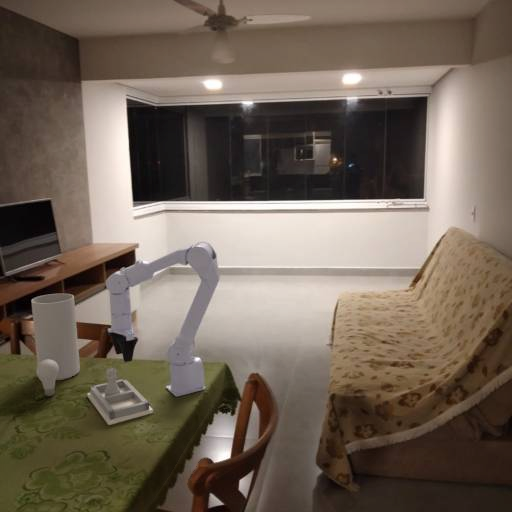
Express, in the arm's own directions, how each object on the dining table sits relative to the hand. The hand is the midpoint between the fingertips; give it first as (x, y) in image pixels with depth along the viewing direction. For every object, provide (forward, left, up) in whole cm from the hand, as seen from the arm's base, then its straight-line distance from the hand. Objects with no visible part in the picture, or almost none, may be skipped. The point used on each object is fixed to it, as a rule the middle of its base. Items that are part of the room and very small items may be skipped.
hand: (124, 357), depth 156 cm
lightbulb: (+20, -8, -10) cm, 24 cm away
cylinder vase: (+14, -24, -10) cm, 30 cm away
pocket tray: (+5, +9, -10) cm, 14 cm away
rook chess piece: (+5, +4, -9) cm, 11 cm away
